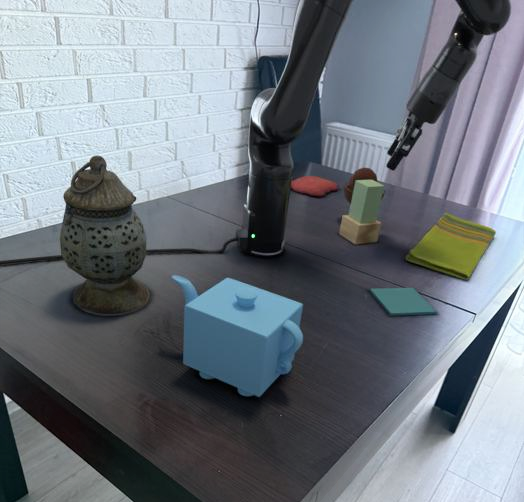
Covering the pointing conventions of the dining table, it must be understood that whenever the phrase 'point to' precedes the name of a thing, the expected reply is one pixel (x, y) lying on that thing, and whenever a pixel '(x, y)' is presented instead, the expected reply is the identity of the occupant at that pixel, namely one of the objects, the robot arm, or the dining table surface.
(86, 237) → the lantern
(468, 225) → the dish towel
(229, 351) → the teapot
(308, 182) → the patty
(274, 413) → the dining table surface
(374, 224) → the birch block
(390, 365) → the dining table surface
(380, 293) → the mat
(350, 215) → the green block
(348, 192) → the ice cream bowl
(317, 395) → the dining table surface
